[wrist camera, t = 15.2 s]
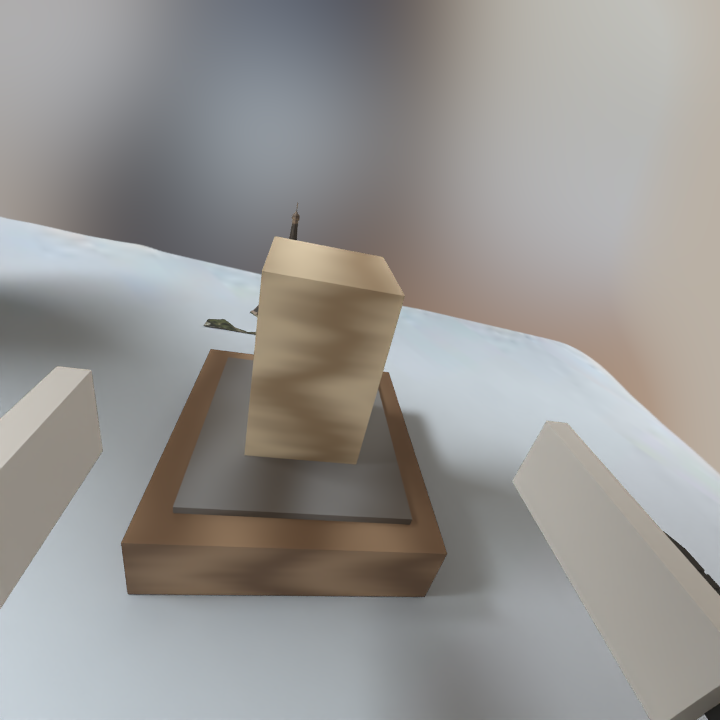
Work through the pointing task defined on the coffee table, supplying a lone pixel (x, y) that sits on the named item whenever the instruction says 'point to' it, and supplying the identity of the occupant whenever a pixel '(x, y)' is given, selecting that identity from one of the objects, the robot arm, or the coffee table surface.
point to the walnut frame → (280, 507)
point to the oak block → (319, 351)
